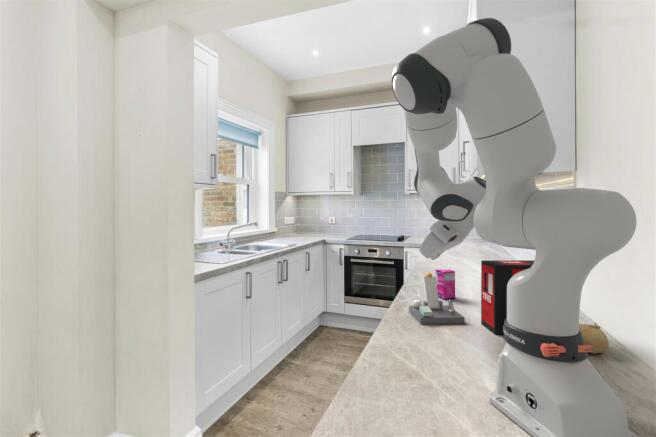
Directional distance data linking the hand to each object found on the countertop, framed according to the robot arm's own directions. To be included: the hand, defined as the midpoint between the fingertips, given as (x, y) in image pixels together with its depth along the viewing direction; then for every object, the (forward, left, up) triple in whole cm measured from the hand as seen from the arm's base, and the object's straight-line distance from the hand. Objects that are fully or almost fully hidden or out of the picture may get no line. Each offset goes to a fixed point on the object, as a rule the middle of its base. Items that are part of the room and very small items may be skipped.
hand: (433, 257), depth 105 cm
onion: (-25, -30, -21) cm, 44 cm away
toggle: (-1, -6, -17) cm, 18 cm away
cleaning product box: (-10, -21, -21) cm, 31 cm away
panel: (+2, -1, -20) cm, 20 cm away
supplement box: (+26, -14, -20) cm, 36 cm away
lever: (+4, -1, -17) cm, 18 cm away
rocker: (-2, +3, -17) cm, 17 cm away
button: (+6, +3, -18) cm, 20 cm away
